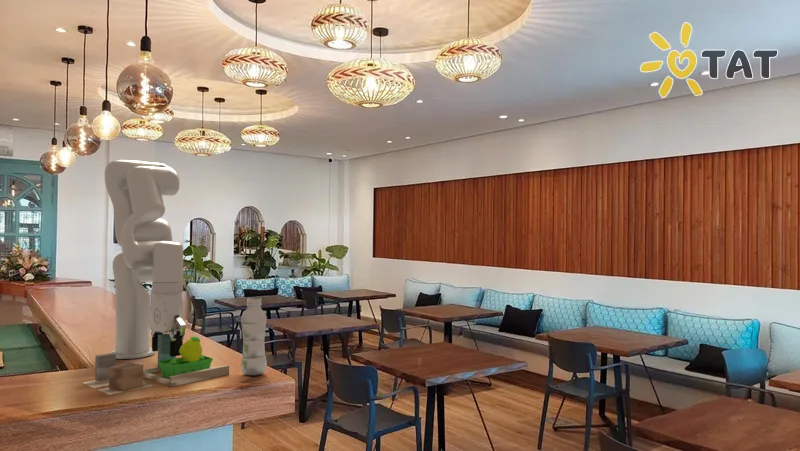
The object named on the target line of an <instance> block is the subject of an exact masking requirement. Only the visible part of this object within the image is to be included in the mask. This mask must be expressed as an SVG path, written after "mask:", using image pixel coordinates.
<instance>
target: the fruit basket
mask: <svg viewBox="0 0 800 451" xmlns="http://www.w3.org/2000/svg"><path fill="white" fill-rule="evenodd" d="M179 353H180V354H181V355H180V356H181V357H176V358H175V359H169V360H163V361H158V360H157V364H158V363H159V366H160V368H161V375H162V376H161V377H163V378H166V379H169V377H170V376H175V375H180V374H184V373H189V372H194V371H199V370H204V369H209V368H210V366H212V365H211V364H212V362H213V357H209V356H206V355H203V348H202V345H201V339H200V337H197V336H191V337H189V338H188V340H186V341H185V342H183V345H182V346H181V347H180V349H179Z"/></svg>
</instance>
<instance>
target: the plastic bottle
mask: <svg viewBox="0 0 800 451" xmlns="http://www.w3.org/2000/svg"><path fill="white" fill-rule="evenodd" d="M262 305H263V304H262V298H260V297H249V298H247V299H246V306H247V307H246V309H245V310H244V311H243V313H242V315H241V316H240V317H241V318H240V322H241V331H242V339H243V340H242V342H243V345H242V355H241V356H242V357H241V360H240V361H241V362H240V369H241V372H242V375H247V376H253V377H254V376H259V375H262V374H265V372H266V370H267V367H268V366H267V365H268V363H267V356H266V350H265V348H266V347H265V338H266V337H265V335H266V326H267V319H268V318H267V315H266V314H265V312H264V311H263V309H262V307H261V306H262Z"/></svg>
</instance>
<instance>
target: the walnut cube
mask: <svg viewBox="0 0 800 451" xmlns="http://www.w3.org/2000/svg"><path fill="white" fill-rule="evenodd" d="M143 370H144V364H142V363H141V364H139V363H133V362H125V363H122V364H121V363H120V364H116V366H113V367H109V385H108V388H109V389H112V390H117V391H123V392H122V393H125V391H126V392H129V390H131V391H133V390H132V389H135V388H139V387H142V386H143V382H144V376H143Z"/></svg>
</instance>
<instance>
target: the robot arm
mask: <svg viewBox="0 0 800 451" xmlns="http://www.w3.org/2000/svg"><path fill="white" fill-rule="evenodd" d="M104 184H105V188H106V192H107V194H108V196H109V198H110V200H111V203H112V208H113V219H114V229H115V230H114V231H115V232H114V233H115V239H116V242H117V244H118V246H120V247H121V252H120V253H117V255H116V256H114V258H113V260H112V272H113V277H114V286H115V287H114V288H115V290H114V291H115V322H114V323H115V324H114V325H115V330H114V336H115V337H114V345H115V346H114V350H112V351H110V352H109V353H115V354H116V360H117V359H118V360H128V359H129V360H131V359H133V360H134V359H140V358H145V357H149V356H153V355H154V354H156V352H158V335H161V334H168V333H169V334H170V337H171V340H172V341H170V356H171V357H173V356H176V357H177V356H178V357H179V356H182V355H181V354H180V353H179V349H180V347H181V346H182V345H183V344H184V341H183V340H184V336H185V334H186V328H187V324H186V323H185V322H184V303H183V296H182V294H184V291H183V290H184V286H183V285H184V247H183V246H184V245H183V244H182V243H181V242H174V241H173V234H172V229H171V226H170V224H169V222H168V221H167V220H165V219H163V218H162V217H163V216H164V215H165V213H166V207H165V205H164V198H163V196H168V197H169V196H175V195H177V193H178V191H179V190H180V177H179V175H178V173H177V172H176V170H175V169H174V168H172V167H171V166H168V165H166V164H165V163H160V162H151V161H142V160H131V159H129V160H128V159H116V160H112V161H110V162H108V163H107V164H106V166H105V169H104ZM149 282H150V283H151V286H152V288H151V296H150V293H149V291H148V290H147V289H146V288H145V287H144V286H143V284H142V283H149ZM174 333H175V335H174ZM150 340H151V342H150Z"/></svg>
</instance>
